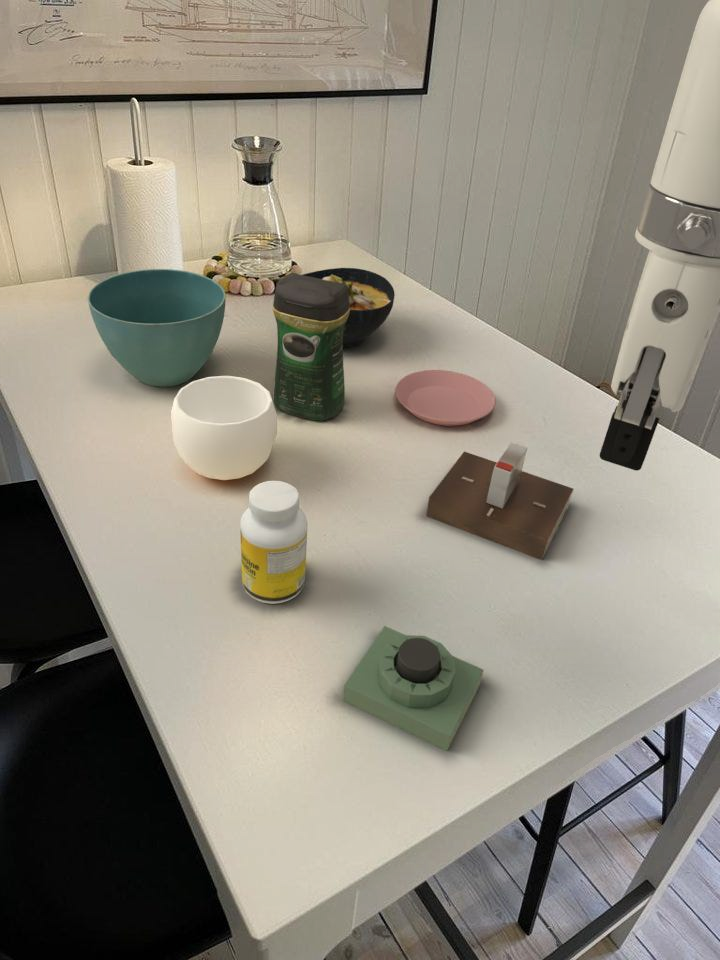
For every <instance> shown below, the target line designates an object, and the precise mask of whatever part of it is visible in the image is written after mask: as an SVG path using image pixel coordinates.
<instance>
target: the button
mask: <svg viewBox="0 0 720 960" xmlns="http://www.w3.org/2000/svg"><path fill="white" fill-rule="evenodd" d="M439 662H440V652H439V650H438V648H437V647H436V646H435V645H434V644H433V643H432V642H430V641H428V640H426V639H423V638H412V639H408V640H406V641H405V642H403V643H402V644H401V646H400V648H399V651H398V658H397V670H398V672H399V674H400V675H401V676H402V677H403V678H404V679H406V680H408V681H410V682H413V683H426V682H429V681H431V680H432V679H433V678H434V677H435V676H436V674H437V671H438V667H439Z"/></svg>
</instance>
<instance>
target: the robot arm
mask: <svg viewBox="0 0 720 960" xmlns="http://www.w3.org/2000/svg"><path fill="white" fill-rule="evenodd" d="M680 74H681V75H680V78H679V82H678V85H677V88H676V92H675V96H674V99H673V102H672V106H671V110H670V113H669V116H668V119H667V123H666V126H665V130H664V133H663V136H662V141H661V144H660V147H659V151H658V154H657V158H656V160H655V164H654V168H653V172H652V175H651V179H650V182H649V184H648V188H647V191H646V195H645V199H644V202H643V206H642V209H641V212H640V216H639V219H638V222H637V226H636V229H635V233H634V239H635V240H636V242H637V243H638V244H639V245H641V246H642V247H644V248H645V249H647V250H648V254H647V256H646V260H645V263H644V266H643V269H642V273H641V276H640V279H639V282H638V285H637V288H636V292H635V295H634V298H633V301H632V302H633V303H632V305H631V307H630V308H631V309H630V312H629V316H628V319H627V321H626V326H625V330H624V333H623V337H622V340H621V344H620V348H619V351H618V354H617V359H616V363H615V368H614V371H613V376H612V379H611V384H610V389H611V390H612V392H613V394H614V395H615V396H618V395H619V393H620V397H619V400H618V403H617V405H616V406H615V408H614V411H613V412H612V414H611V418H610V420H609V425H608V427H607V430H606V433H605V436H604V439H603V443H602V444H601V448H600V452H599V458H600V459H601V460H602V461H605V462H607V463H611V464H614V465H617V466H620V467H624V468H626V469H629V470H632V471H640V470H641V469H642V467H643V464H644V462H645V460H646V457H647V455H648V451H649V449H650V446H651V443H652V441H653V437H654V435H655V432H656V429H657V427H658V424H659V421H660V420H661V419H660V418H659V417H658V414H659V411H660V408H661V407H662V408H666V409H669V410H670V412H672V413H676V412H678V411H680V410H681V409H683V407H684V405H685V403H686V400H687V398H688V394H689V392H690V390H691V387H692V385H693V382H694V379H695V377H696V375H697V372H698V369H699V366H700V364H701V362H702V359H703V356H704V353H705V351H706V348H707V346H708V344H709V341H710V338H711V336H712V333H713V331H714V328H715V325H716V323H717V320H718V317H719V314H720V0H708V1H707V2H706V4H705V5H704V7H703V8H702V10H701V12H700V14H699V16H698V18H697V22H696V24H695V28H694V31H693V33H692V37H691V41H690V44H689V47H688V51H687V54H686V58H685V61H684V65H683V68H682V71H681V73H680Z"/></svg>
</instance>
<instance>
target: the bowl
mask: <svg viewBox="0 0 720 960" xmlns="http://www.w3.org/2000/svg"><path fill="white" fill-rule="evenodd" d="M302 275H303V276H308V277H313V278H318V279H323V280H327V281H332V282H338V283H345V284H346V285H347V287H348V292H349V303H350V312H349V316H348V319H347V321H346V323H345V325H344V330H343V350H351V349H355V348H357V347H359V346H361V345H362V344H363V343H364V341H365V340H366V338H367V337H369V336H370V335H371V334H373V333H374V332H376V330H378V329H379V328H380V327H381V326H382V325H383V324H384V323H385V321H386V320H387V318H388V317H389V316H390V313H391V312H392V309H393V307H394V300H395V296H396V295H395V289H394V287H393V285H392V284H391V282H389V280H387V279H386V278H385V277H384V276H382V275H380V274H378V273H377V272H373V271H370V270H367V269H362V268H355V267H336V268H335V267H334V268H326V269H321V270H315V271H312V272H311V271H310V272H307V273H303V274H302Z"/></svg>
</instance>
